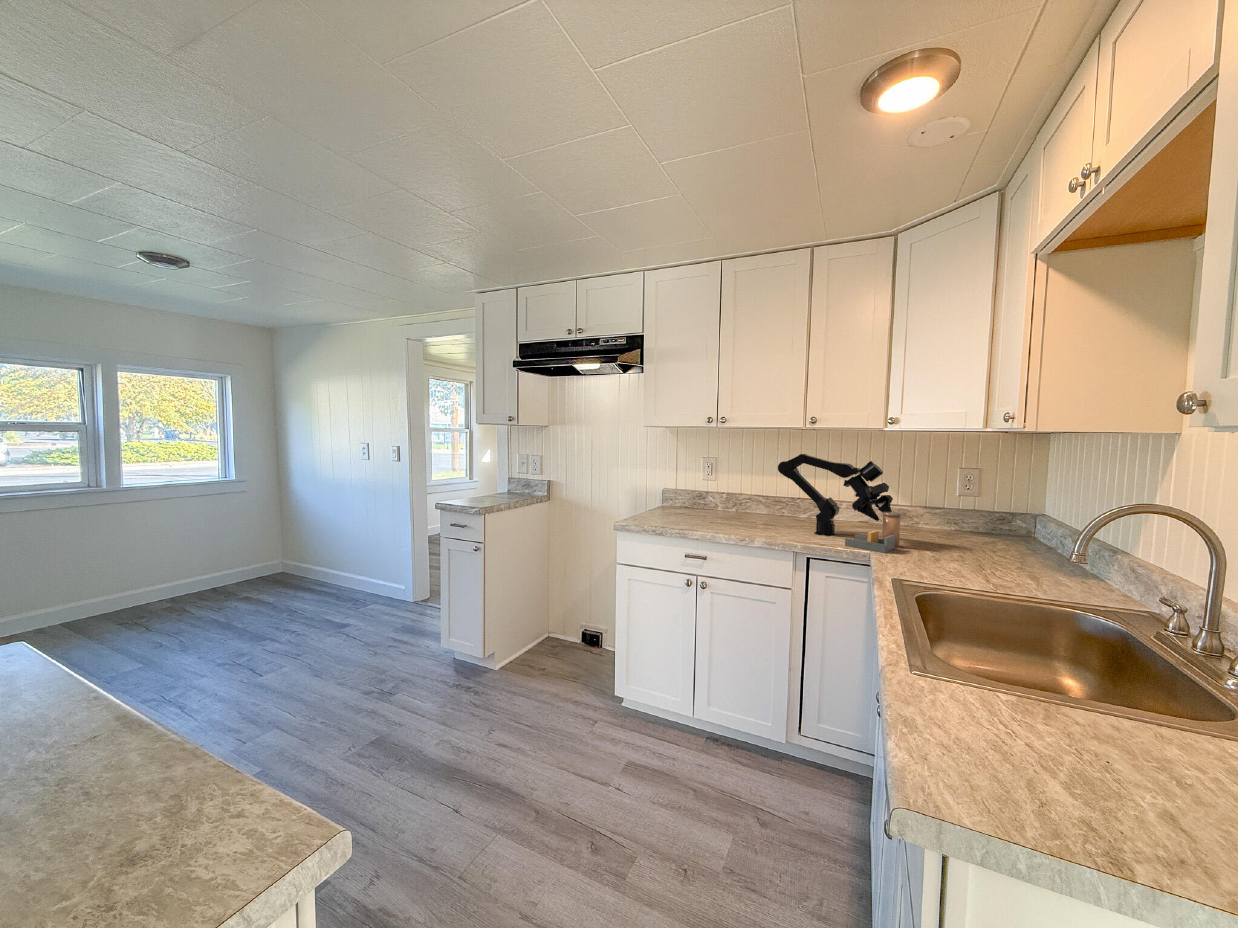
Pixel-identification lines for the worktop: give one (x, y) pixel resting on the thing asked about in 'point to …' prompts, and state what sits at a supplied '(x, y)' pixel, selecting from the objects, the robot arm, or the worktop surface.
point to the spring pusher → (873, 536)
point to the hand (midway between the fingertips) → (885, 519)
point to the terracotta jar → (891, 526)
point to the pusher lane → (881, 546)
